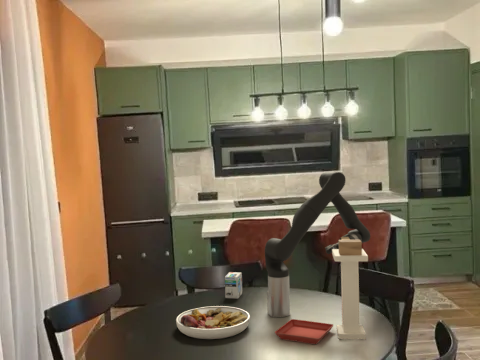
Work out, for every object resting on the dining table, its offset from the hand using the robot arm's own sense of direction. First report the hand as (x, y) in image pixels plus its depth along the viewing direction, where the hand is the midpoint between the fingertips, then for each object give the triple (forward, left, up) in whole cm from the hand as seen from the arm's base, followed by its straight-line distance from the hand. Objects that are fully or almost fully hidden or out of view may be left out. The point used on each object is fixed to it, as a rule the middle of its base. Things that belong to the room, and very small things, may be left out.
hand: (337, 250), depth 221 cm
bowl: (-54, +3, -29) cm, 62 cm away
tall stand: (-5, -22, -29) cm, 36 cm away
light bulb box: (-35, +47, -29) cm, 65 cm away
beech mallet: (-3, -17, +3) cm, 17 cm away
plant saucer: (-22, -17, -29) cm, 40 cm away
